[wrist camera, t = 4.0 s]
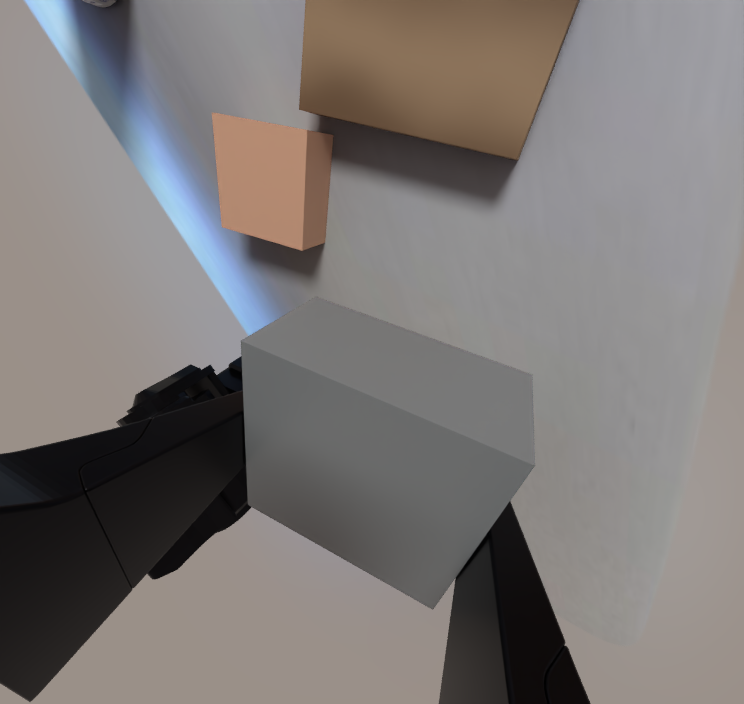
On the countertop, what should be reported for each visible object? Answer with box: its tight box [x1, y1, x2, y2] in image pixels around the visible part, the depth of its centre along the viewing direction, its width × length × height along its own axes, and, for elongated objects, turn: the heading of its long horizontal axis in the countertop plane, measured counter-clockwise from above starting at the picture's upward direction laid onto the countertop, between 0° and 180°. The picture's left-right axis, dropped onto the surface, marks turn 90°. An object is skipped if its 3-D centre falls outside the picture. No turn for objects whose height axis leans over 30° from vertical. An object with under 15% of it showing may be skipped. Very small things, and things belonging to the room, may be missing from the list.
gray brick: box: [241, 297, 535, 609], centre depth 9 cm, size 6×6×3 cm
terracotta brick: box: [212, 113, 333, 251], centre depth 20 cm, size 6×6×3 cm
